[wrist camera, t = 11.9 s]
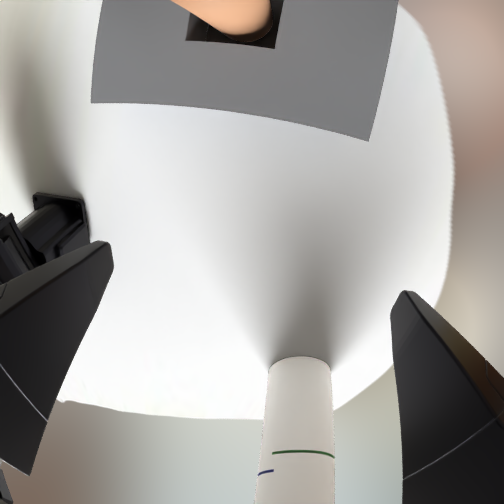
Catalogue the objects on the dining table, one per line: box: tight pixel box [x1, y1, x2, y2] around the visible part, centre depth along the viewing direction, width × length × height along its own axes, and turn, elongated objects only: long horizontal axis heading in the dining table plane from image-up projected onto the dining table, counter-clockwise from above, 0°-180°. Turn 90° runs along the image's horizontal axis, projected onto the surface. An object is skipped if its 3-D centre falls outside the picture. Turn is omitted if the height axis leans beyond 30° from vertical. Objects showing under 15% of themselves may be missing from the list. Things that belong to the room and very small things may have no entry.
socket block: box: [91, 0, 398, 141], centre depth 12 cm, size 16×12×4 cm
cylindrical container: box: [254, 356, 335, 504], centre depth 21 cm, size 7×7×25 cm
